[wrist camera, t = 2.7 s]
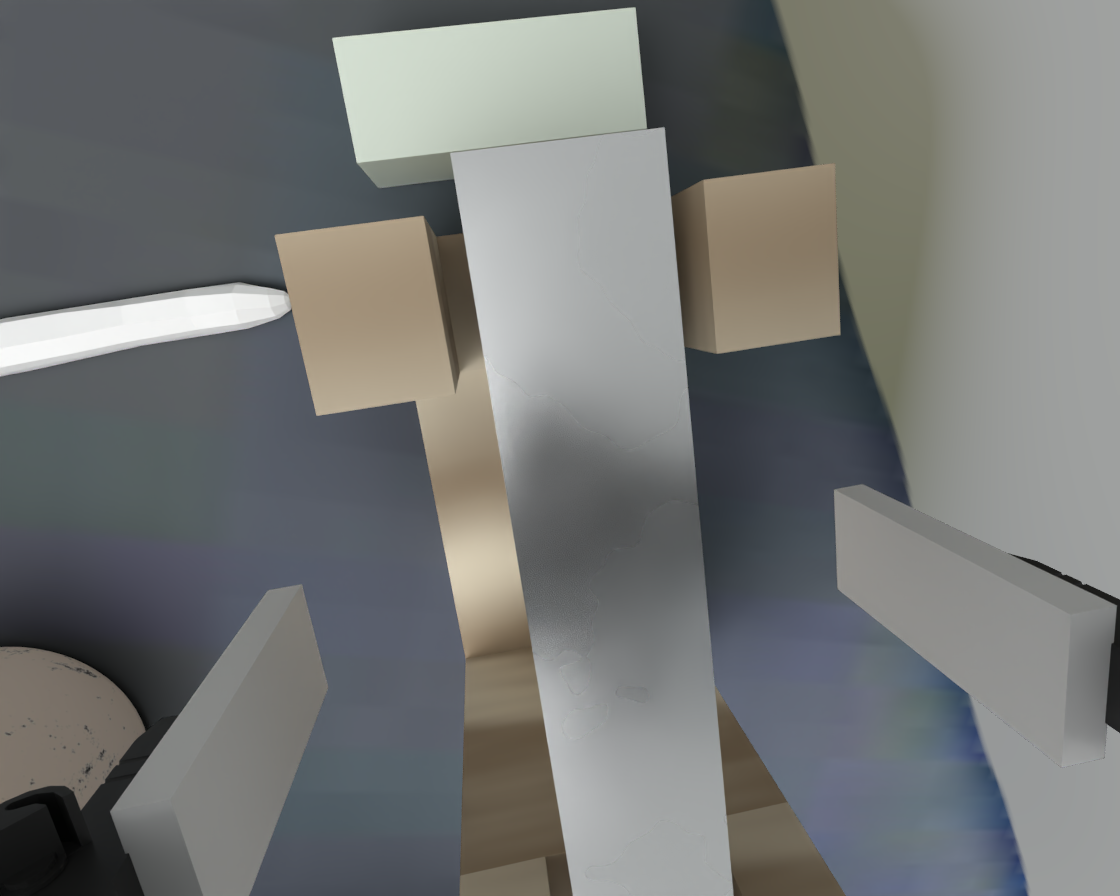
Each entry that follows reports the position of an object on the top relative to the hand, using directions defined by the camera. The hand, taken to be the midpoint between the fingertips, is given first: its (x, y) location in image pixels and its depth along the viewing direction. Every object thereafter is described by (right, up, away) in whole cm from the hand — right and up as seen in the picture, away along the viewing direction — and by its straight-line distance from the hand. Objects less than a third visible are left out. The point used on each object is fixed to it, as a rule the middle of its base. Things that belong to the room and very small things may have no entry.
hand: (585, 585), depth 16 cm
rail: (0, 0, -2) cm, 2 cm away
